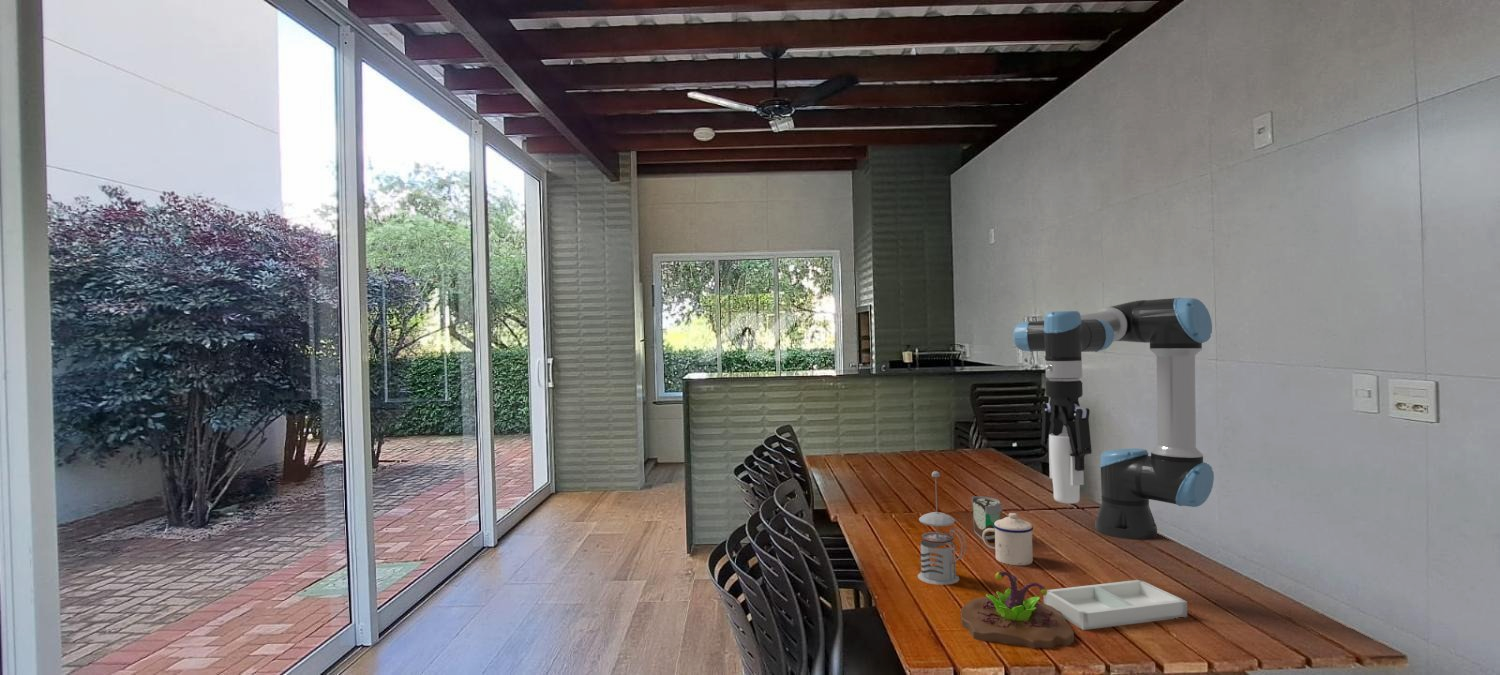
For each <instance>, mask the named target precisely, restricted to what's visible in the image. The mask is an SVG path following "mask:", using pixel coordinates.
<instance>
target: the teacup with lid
mask: <svg viewBox="0 0 1500 675" xmlns="http://www.w3.org/2000/svg"><path fill="white" fill-rule="evenodd" d="M994 527H995V529H993V528H988V529H985V530H984V531H983V533H982V538H983V540H982V541H983V542H984V544H985V545H986V547H988V548H990V549H994V550H995V559H996V561H998V562H999V563H1001V562H1002V564H1004V563H1005V565H1008V564H1009V566H1017V567H1018V566H1028V565H1031V564H1032V563H1033V560H1034V559H1033V530H1034V528H1033V525H1032V524H1031V523H1030V522H1028V521H1026V520H1023V519H1022V518H1020V517H1018V514H1017V513H1015V512H1009V513H1008V516H1006V517H1003V518H1000V519H999V520H997V521H995V523H994ZM986 532H995V541H994V544H991V543H990V542H988V541H987V540H986V536H985V534H986Z"/></svg>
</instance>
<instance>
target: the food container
mask: <svg viewBox="0 0 1500 675" xmlns="http://www.w3.org/2000/svg"><path fill="white" fill-rule="evenodd" d="M971 504H972V513H973V514H972V515H973V516H972V518H973V532H974V533H975V534H976V535H977V536H978V537H979V538H980V539H981V540H982V541H983V538H982V533H983V531H984V530H985V529H988V528H993V529H995V527H994V523H995V521H997V520H1000V519H1001V518H1000V516H1001V512H1003V507H1002V504H1001V502H1000V500H999V499H997V498H993V497H988V496H981V495H980V496H978V495H977V496H975V495H974V496H973V495H972V496H971ZM985 536H986V540H987V541H988V543H990V542H995V532H986V534H985Z"/></svg>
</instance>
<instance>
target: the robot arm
mask: <svg viewBox="0 0 1500 675" xmlns="http://www.w3.org/2000/svg"><path fill="white" fill-rule="evenodd" d="M1212 333H1213V324H1212V317H1211V314H1210V311H1209V309H1208V308H1207V306H1206V305H1205V304H1204V302H1202V301H1201V299H1198V298H1193V297H1174V298H1161V299H1160V298H1159V299H1146V300H1145V299H1144V300H1143V299H1142V300H1134V301H1128V302H1125V303H1120V304H1115V305H1112V306H1107V307H1103V308H1101V309H1099V310H1098V311H1096V312H1090V313H1086V314H1085V313H1084V314H1080V312H1079V311H1077V310H1062V311H1061V310H1059V311H1049V312H1048V311H1047V312H1046V313H1045V314H1044V319H1043V320H1038V321H1037V320H1035V321H1034V320H1033V321H1032V320H1029V321H1022V322H1019V323H1018V324H1017V325H1015V328H1014V330H1013V334H1012V336H1013V342H1014V345H1015V347H1016V349H1018V350H1020V351H1022V352H1030V353H1031V352H1032V353H1033V352H1045V354H1044V355H1045V356H1044V361H1045V364H1044V366H1045V378H1046V379H1047V380H1046V381H1045V395H1046V397H1048V398H1050V400H1049V402H1048V403H1047V402H1046V403H1045V402H1043V403H1041V405H1040V406H1041V412H1042V416H1041V418H1042V421H1041V422H1042V423H1041V445H1043V446H1045V447H1046V449H1047V451H1048V464H1049V465H1048V466H1049V479H1050V480H1051V479H1052V473H1051V464H1050V456H1049V434H1051V433H1052V434H1054V435H1055V436H1058V435H1059V434H1061V433H1063V429H1064V427H1066V429H1065V430H1066V433H1068V437H1069V441H1070V445H1071V449H1072V454H1070V478H1071V485H1072V486H1075V485H1080V486H1084V485H1085V479H1084V478H1085V477H1084V475H1085V474H1084V471H1085V456H1086V455H1090V454H1092V451H1093V450H1092V442H1091V431H1090V420H1089V419H1090V409H1089V408H1088V407H1085V408H1084V407H1082V406H1081V405H1080V402H1079V398H1082V396H1083V395H1084V394H1083V390H1084V389H1083V382H1082V380H1080V379H1081V378H1083V361H1082V359H1083V358H1082V352H1083V353H1087V352H1095V353H1097V352H1099V351H1104V350H1107V349H1108V348H1109V347H1110V346H1112V343H1114V342H1130V343H1149V351H1151V352H1152V353H1153V354H1154V355H1155V356H1156V418H1157V419H1156V422H1157V423H1156V424H1157V425H1156V429H1157V430H1156V431H1157V433H1156V434H1157V440H1156V441H1157V444H1156V446H1155V447H1153V449H1152V450H1151V451H1150V453H1149V452H1148V450H1147V449H1146V448H1118V449H1110V450H1106V451H1103V452H1102V453H1101V455H1100V465H1099V468H1100V486H1101V487H1100V488H1101V489H1100V490H1101V492H1100V493H1101V502H1100V503H1101V504H1100V507H1099V509H1098V514H1097V517H1096V518H1095V521H1094V523H1095V525H1094V526H1095V530H1096V531H1097V532H1099V533H1100V534H1103V535H1106V536H1110V537H1114V538H1117V539H1118V538H1119V539H1124V540H1125V539H1127V540H1149V539H1154V538H1156V537H1157V536H1158V527H1157V524H1156V522H1155V519H1154V515H1153V513H1152V511H1151V508H1150V500H1151V501H1157V502H1162V503H1166V504H1167V503H1168V504H1173V505H1177V506H1179V507H1183V506H1184V507H1190V508H1197V507H1200V506H1202V505H1203V504H1204V503H1206V501H1207V500H1208V498H1209V497H1210V495H1211V493H1212V490H1213V486H1214V480H1215V475H1214V473H1215V472H1214V470H1213V467H1212V466H1211V465H1210V464H1209V463H1207V462H1204V454H1203V453H1202V451H1200V450H1198V448H1197V437H1196V436H1197V429H1196V428H1197V427H1196V424H1197V423H1196V420H1197V418H1196V415H1197V414H1196V412H1197V411H1196V355H1198V354H1199V353H1200V352H1201V351H1202V349H1203V343H1206V342H1208V341H1209V340H1210V338H1211V334H1212ZM1077 449H1078V450H1077ZM1149 454H1150V455H1149Z"/></svg>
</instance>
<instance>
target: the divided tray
mask: <svg viewBox="0 0 1500 675" xmlns="http://www.w3.org/2000/svg"><path fill="white" fill-rule="evenodd" d="M1042 596H1043V603H1044V604H1046V605H1049V606H1052V607H1053V608H1055V609H1056V610H1058V611H1060V612H1061V613H1062V616H1063V617H1064V618H1065V620H1066V621H1068V622H1070V623H1071V624H1072V625H1075V626H1076V627H1077V628H1079V629H1081V630H1082V631H1086V630H1087V631H1088V630H1093V629H1094V630H1095V629H1102V628H1103V629H1104V628H1112V627H1117V626H1120V627H1121V626H1126V625H1127V626H1128V625H1134V624H1136V625H1137V624H1142V623H1153V622H1157V621H1160V622H1161V621H1167V620H1174V618H1176V619H1179V618H1178V617H1184V618H1188V600H1185V599H1183V598H1181V597H1179V596H1177V595H1174V594H1172V593H1170V592H1168V591H1165V590H1163V589H1161V588H1159V587H1156V586H1155V585H1152V584H1151V583H1148V582H1146V581H1144V580H1142V579H1134V580H1127V581H1125V580H1124V581H1115V582H1108V583H1100V584H1099V583H1098V584H1090V585H1081V586H1072V587H1063V588H1062V587H1061V588H1054V589H1047V594H1046V595H1045V596H1044V595H1042Z"/></svg>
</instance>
